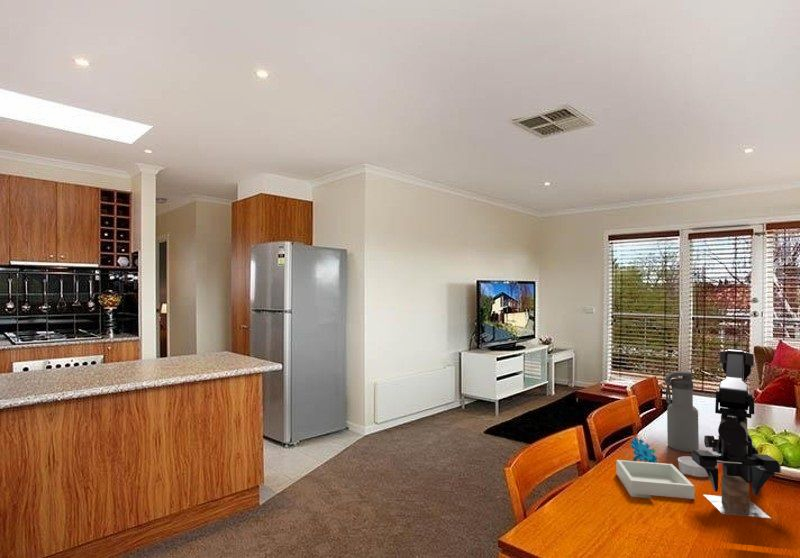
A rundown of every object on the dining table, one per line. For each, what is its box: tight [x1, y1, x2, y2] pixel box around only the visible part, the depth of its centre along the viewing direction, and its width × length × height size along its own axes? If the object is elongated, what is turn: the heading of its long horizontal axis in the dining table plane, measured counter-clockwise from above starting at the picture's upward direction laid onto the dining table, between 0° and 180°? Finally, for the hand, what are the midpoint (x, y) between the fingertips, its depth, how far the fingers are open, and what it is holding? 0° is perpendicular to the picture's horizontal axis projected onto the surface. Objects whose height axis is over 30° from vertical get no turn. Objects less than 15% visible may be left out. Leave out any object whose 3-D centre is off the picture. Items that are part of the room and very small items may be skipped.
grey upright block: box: [720, 474, 750, 511], centre depth 119 cm, size 4×4×7 cm
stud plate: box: [703, 494, 771, 519], centre depth 119 cm, size 11×11×4 cm
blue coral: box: [630, 437, 659, 463], centre depth 153 cm, size 11×6×10 cm
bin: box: [616, 459, 695, 500], centre depth 133 cm, size 16×16×4 cm
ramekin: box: [677, 455, 709, 478], centre depth 142 cm, size 9×9×4 cm
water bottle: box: [664, 370, 700, 453], centre depth 166 cm, size 10×10×28 cm
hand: (735, 493), depth 120 cm, fingers open, 9 cm apart
